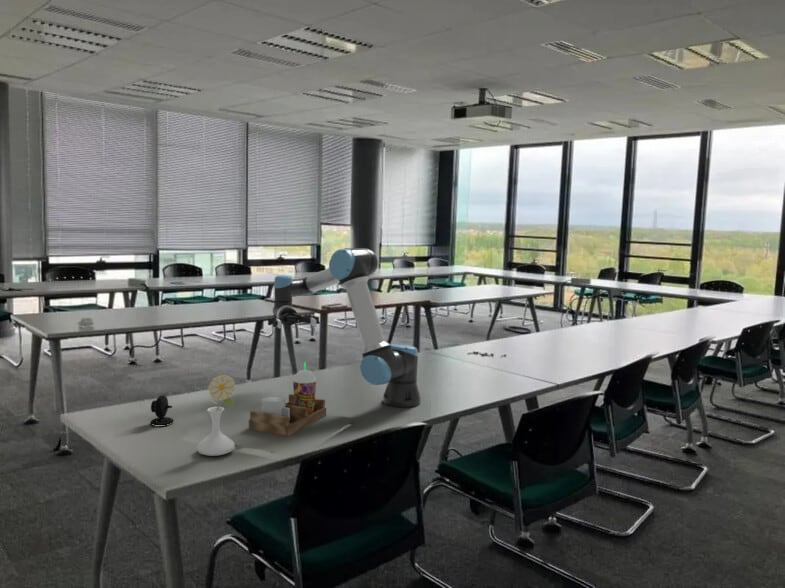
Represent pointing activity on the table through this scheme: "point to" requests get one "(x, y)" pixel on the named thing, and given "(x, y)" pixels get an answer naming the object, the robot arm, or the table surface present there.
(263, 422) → the rack
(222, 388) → the flower in vase
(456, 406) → the table surface
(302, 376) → the smoothie
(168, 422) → the webcam
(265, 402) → the mug
